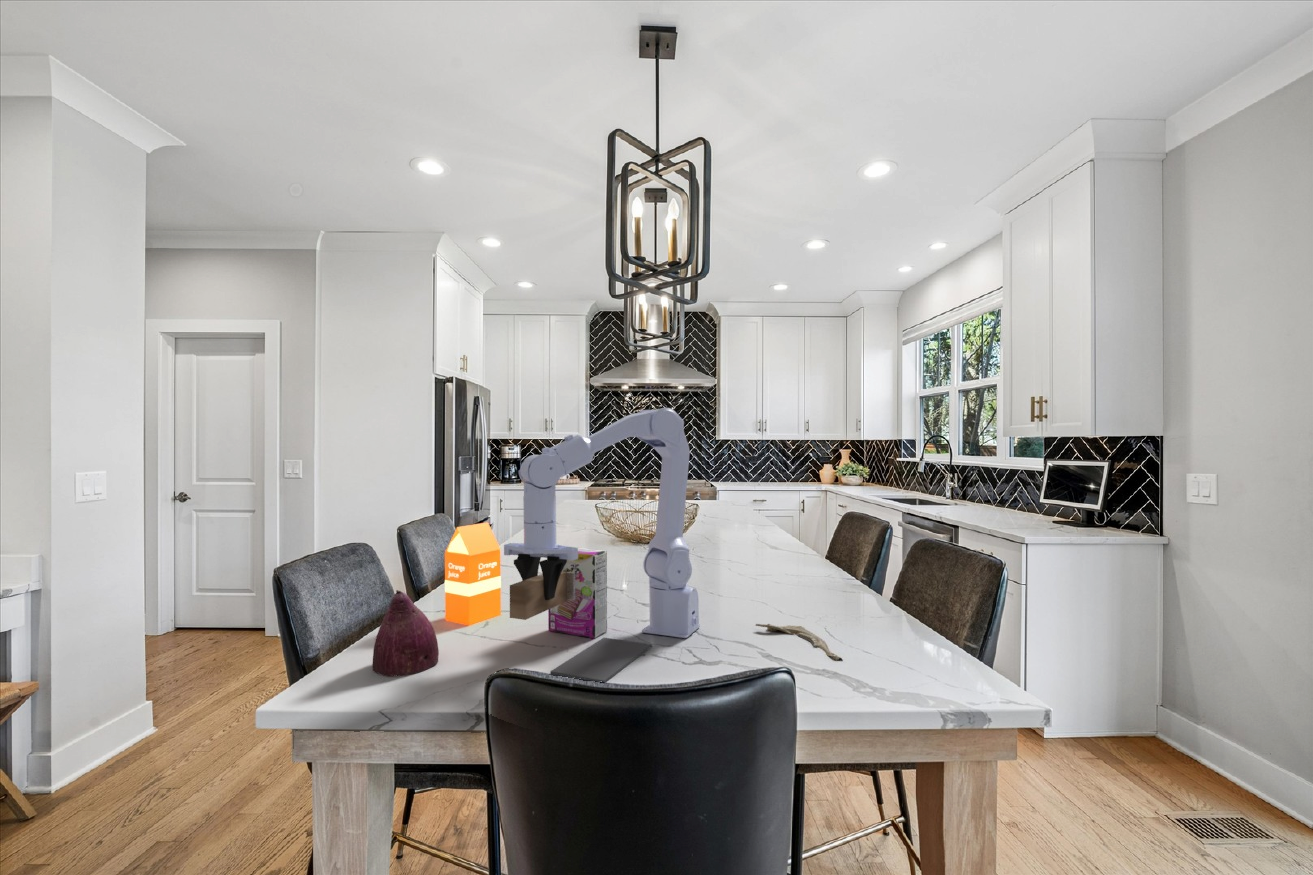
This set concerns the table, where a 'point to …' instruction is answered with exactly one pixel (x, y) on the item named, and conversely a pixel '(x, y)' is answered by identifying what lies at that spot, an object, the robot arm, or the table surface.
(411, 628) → the vegetable
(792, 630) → the jawbone
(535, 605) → the tall tan post
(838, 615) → the table surface
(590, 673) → the mat
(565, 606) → the candy bar box
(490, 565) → the orange juice
